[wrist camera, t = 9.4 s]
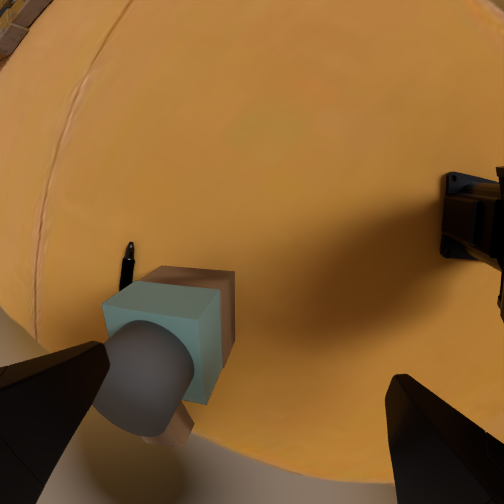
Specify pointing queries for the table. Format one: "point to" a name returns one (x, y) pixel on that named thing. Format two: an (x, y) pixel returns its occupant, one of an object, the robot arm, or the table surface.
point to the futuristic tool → (17, 22)
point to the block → (174, 430)
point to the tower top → (176, 325)
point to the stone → (144, 378)
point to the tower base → (205, 280)
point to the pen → (127, 267)
